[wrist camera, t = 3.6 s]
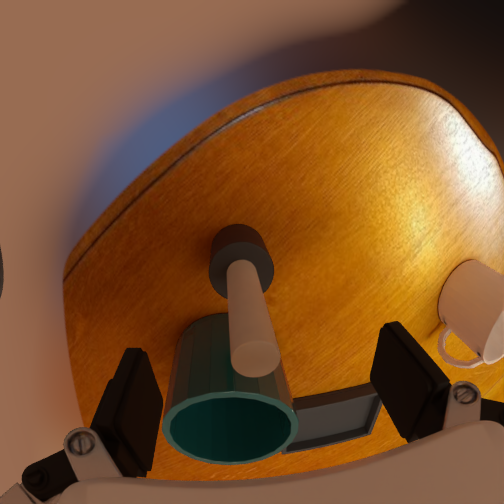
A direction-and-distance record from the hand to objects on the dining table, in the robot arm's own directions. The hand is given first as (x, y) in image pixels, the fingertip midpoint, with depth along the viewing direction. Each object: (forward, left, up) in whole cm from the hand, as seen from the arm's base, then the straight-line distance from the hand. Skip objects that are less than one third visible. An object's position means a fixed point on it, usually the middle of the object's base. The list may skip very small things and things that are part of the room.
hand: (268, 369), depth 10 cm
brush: (0, 0, -15) cm, 15 cm away
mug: (+26, -9, -15) cm, 31 cm away
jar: (-2, -11, -15) cm, 18 cm away
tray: (+10, -24, -15) cm, 30 cm away
